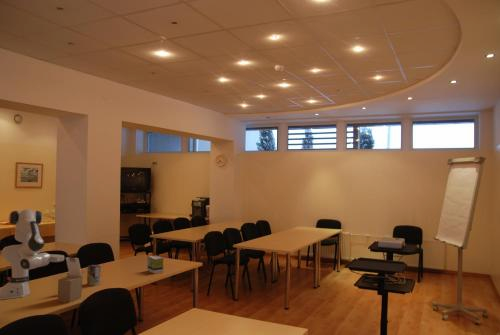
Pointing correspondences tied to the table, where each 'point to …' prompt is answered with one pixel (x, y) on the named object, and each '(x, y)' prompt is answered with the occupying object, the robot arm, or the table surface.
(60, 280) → the carton
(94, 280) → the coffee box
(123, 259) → the table surface
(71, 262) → the flap
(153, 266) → the tea box
